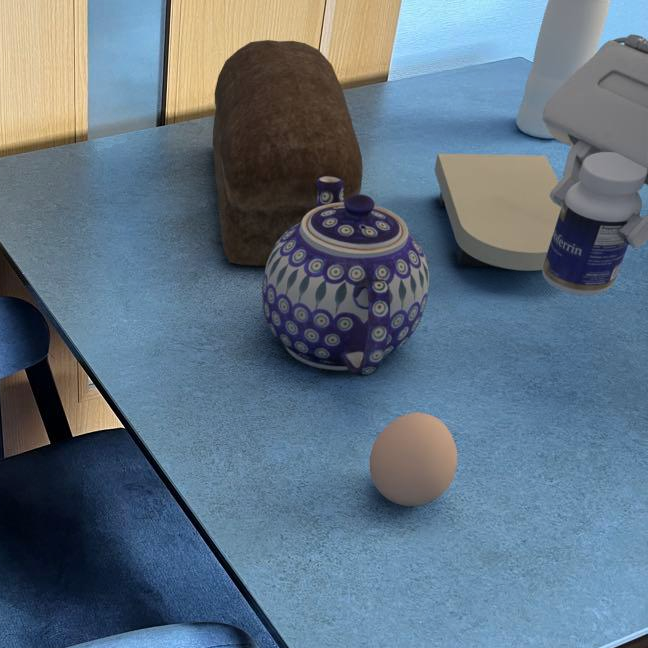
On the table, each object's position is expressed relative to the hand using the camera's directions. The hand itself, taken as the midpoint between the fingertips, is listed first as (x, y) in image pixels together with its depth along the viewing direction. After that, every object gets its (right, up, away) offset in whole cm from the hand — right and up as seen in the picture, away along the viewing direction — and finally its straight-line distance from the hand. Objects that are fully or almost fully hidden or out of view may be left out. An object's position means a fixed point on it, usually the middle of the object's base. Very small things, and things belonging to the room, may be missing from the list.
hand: (591, 222), depth 82 cm
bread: (-19, +14, +38) cm, 45 cm away
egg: (-14, -22, +2) cm, 26 cm away
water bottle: (+18, +28, +51) cm, 61 cm away
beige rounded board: (+4, +8, +31) cm, 32 cm away
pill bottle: (+1, -4, +4) cm, 6 cm away
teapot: (-16, -6, +18) cm, 25 cm away
